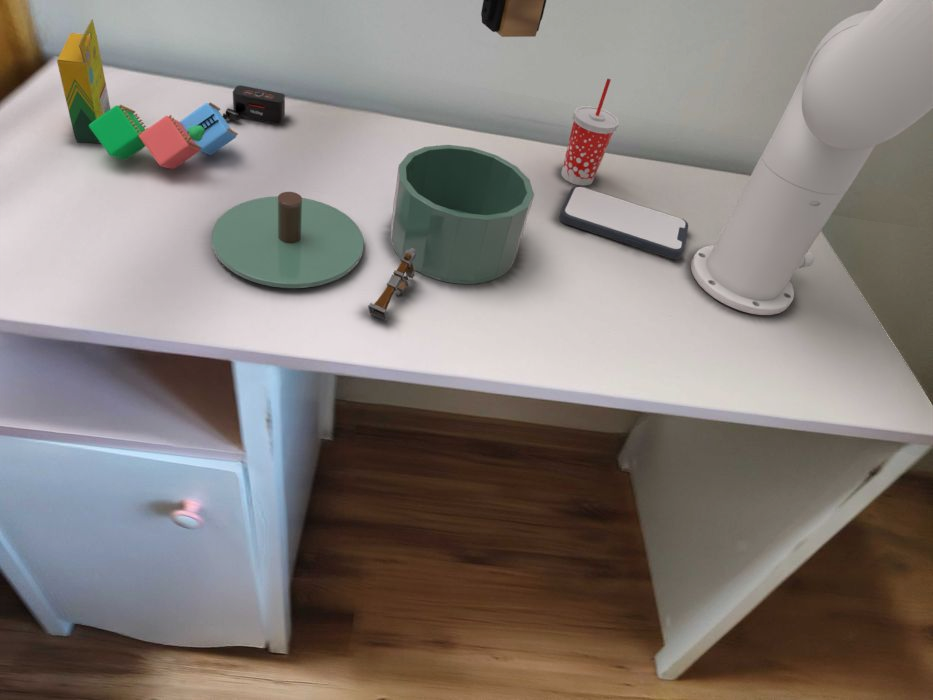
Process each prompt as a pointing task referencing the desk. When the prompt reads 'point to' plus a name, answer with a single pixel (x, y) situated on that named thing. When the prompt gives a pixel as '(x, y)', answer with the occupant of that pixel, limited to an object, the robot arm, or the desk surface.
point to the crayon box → (83, 82)
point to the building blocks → (163, 134)
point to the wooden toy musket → (394, 285)
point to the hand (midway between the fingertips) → (510, 25)
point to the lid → (287, 241)
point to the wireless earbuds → (256, 105)
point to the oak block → (520, 18)
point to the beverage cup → (588, 142)
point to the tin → (459, 213)
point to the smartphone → (625, 222)
